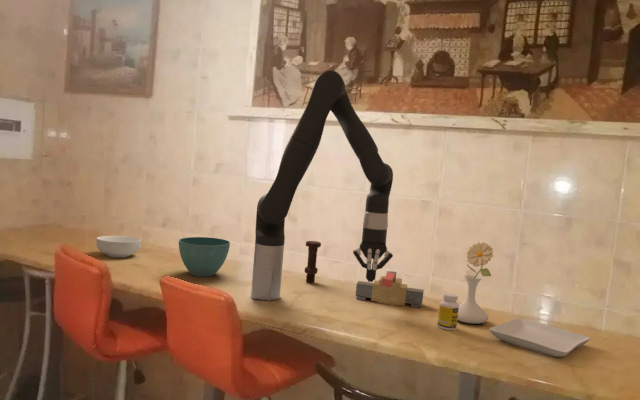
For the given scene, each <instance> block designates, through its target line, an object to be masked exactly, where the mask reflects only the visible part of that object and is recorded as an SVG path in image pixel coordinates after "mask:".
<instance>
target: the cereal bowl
mask: <svg viewBox="0 0 640 400" xmlns="http://www.w3.org/2000/svg"><path fill="white" fill-rule="evenodd" d="M95 241H96V242H95V244H96V248H97V249H98V250H99V252H101V253H103V254H105V255H106V256H107V257H109V258H114V259H115V258H122V259H123V258H128V257H129V256H131V255H133V254H136V253H137V252H139V250H140V249H141V245H142V238H139V237H136V236H130V235H101V236H97V237H96V240H95Z"/></svg>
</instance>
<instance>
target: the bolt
mask: <svg viewBox="0 0 640 400" xmlns="http://www.w3.org/2000/svg"><path fill="white" fill-rule="evenodd" d="M321 246H322V243H321V242H320V241H316V240H307V241H306V242H305V247H308V249H307V251H308V253H307V254H308V255H307V266H305V268H304V273H305V274H306V278H305V282H306V283H307V284H308V283H309V284H314V283H315V279H316V278H315V277H316V275H317V273H318V271H319V270H318V268H317V255H318V249H319V248H321Z"/></svg>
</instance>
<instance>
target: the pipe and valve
mask: <svg viewBox="0 0 640 400" xmlns="http://www.w3.org/2000/svg"><path fill="white" fill-rule="evenodd" d="M383 278H385V276H384V275H381V276H380V278H379V280H376V279H375V280H373V282H368V281H361V280H358V281H357V282H356V287H355V297H356V300H359V301H366V300H367V298H369V299H371V300H370V301H371V302H376V303H379V304H385V305H391V306H392V305H393V306H403V307H405V306H406V304H410V307H411V308H416V309H421V306H422V305H423V302H424V301H423V299H424V290H425V289H424V288H423V289H421V288H414V287H408V284H405V283H403V278H399V277H396V280H393V285H392V287H387V286H381V285H382V279H383Z"/></svg>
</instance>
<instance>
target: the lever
mask: <svg viewBox="0 0 640 400" xmlns="http://www.w3.org/2000/svg"><path fill="white" fill-rule="evenodd" d="M384 277H385V278H383V279H382V285H381V286H387V287H392V285H393V280H396V278H397V271H392V270H386V273H385V276H384Z"/></svg>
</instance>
